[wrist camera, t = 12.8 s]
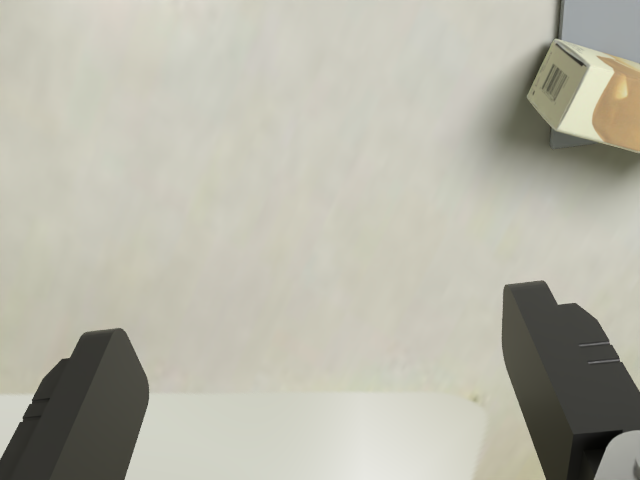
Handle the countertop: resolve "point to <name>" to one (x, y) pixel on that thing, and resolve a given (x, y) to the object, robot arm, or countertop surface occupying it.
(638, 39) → the mat
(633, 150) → the skincare box
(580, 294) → the countertop surface
